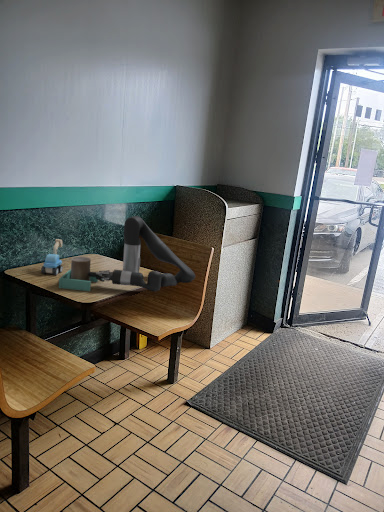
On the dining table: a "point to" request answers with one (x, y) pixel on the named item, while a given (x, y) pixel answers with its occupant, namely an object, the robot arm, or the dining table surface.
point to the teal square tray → (75, 282)
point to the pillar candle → (80, 268)
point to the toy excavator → (53, 261)
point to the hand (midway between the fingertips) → (89, 274)
